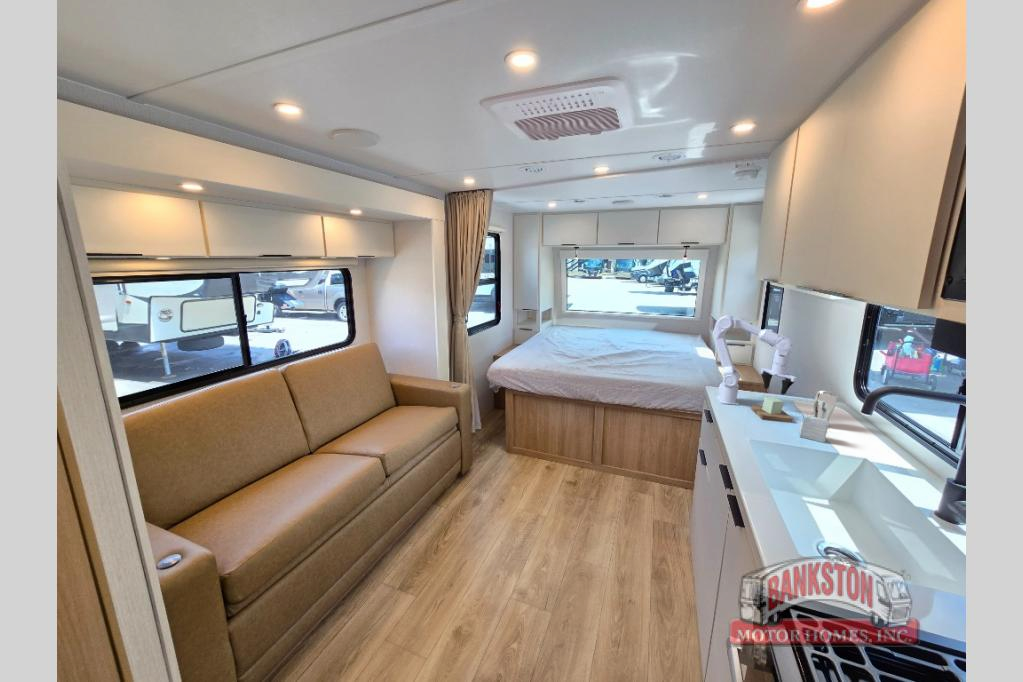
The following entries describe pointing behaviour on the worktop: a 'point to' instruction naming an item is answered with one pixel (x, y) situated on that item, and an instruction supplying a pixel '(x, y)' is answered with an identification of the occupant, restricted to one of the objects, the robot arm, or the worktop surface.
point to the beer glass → (824, 404)
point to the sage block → (772, 405)
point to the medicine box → (813, 428)
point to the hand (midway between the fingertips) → (774, 391)
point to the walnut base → (771, 415)
